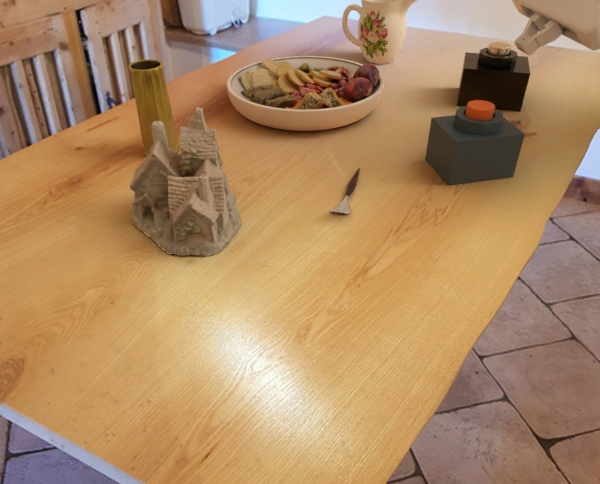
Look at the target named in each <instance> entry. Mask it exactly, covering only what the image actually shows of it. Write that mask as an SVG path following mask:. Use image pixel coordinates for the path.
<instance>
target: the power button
mask: <svg viewBox="0 0 600 484" xmlns="http://www.w3.org/2000/svg"><path fill="white" fill-rule="evenodd" d="M488 47H489V48H488ZM488 47H487V48H488V53H487V54H489V55H493V56H501V57H503V56H509V54H510V49H511V50H512V45H511V44H510V43H507V42H504V41H492V42H490V43H489V44H488Z"/></svg>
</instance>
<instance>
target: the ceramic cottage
mask: <svg viewBox="0 0 600 484" xmlns="http://www.w3.org/2000/svg"><path fill="white" fill-rule="evenodd" d="M217 132H218V131H217V128H216V127H212V128H208V126H207V123H206V121H205V116H204V108H202V107H199V106H197V107H196V108H195V114H194V115H192V116H191V117H190V119H189V124H188V126H180V127H179V148H180V153H175V152H174V151H173V150H172V149H171V148H168V141H167V136H166V131H165V128H164V124H163V123H162V122H161V121H154V122H153V123H152V138H153V143H154V144H153V145H152V147H151V148H150V151H149V154H148V155H145V157H144V159H143V161H142V162H141V163H140V164H139V166H138V167H137V168H136V169H135V170H134V174H133V178H132V179H131V182H130V184H129V188H130V190H131V191H133V192H134V198H133V200H132V201H133V202H131V210H130V211H131V218H132V220H133V222H132V224H133V223H134V224H135V225H136V226H137V227H139V228H138V229H139V230H140V229H141V230H142V231H144V232H145V233H146V234H147V235H149V237H151V238H152V239H153V240H154V241H155V242H156V243H158V245H160V247H161V248H163V249H164V250H165V251H167V252H168V253H167V252H166V253H167V254H169V253H171V254H175V255H174V256H176V255H177V256H180V255H181V256H180V257H183V256H184V257H186V256H187V257H189V256H190V255H191V256H198V257H199V256H203V257H208V256H209V257H211V255H216V254H219V253H220V252H221V251H223V250H224V248H225V247H227V244H229V243H230V241H231V240H232V239H233V237H234V236H235V235H237V233H238V232H239V229H240V227H241V225H242V222H241V221H242V220H241V213H240V212H241V211H240V210H239V209H238V207H237V197H236V195H235V194H234V192H233V191H232V189H231V187H230V185H229V178H228V176H227V174H226V172H225V171H224V170H223V168H222V167H223V165H224V162H223V160H222V158H221V152H220V147H219V143H218V136H217ZM132 220H131V221H132ZM134 224H133V225H134ZM135 225H134V226H135ZM136 226H135V227H136ZM137 227H136V228H137ZM141 230H140V231H141ZM142 231H141V232H142ZM147 235H146V236H147ZM151 238H150V239H151ZM153 240H152V241H153ZM154 241H153V242H154ZM155 242H154V243H155ZM156 243H155V244H156ZM158 245H157V246H158ZM160 247H159V248H160ZM161 248H160V249H161ZM171 254H170V255H171Z"/></svg>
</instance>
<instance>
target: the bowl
mask: <svg viewBox="0 0 600 484" xmlns="http://www.w3.org/2000/svg"><path fill="white" fill-rule="evenodd" d="M384 85H385V83H384V79H383V77H382V75H381V74H380V70H379V69H378V67H377V66H375V64H372V63H366V64H362V63H360V62H356V61H353V60H349V59H344V58H338V57H333V56H320V55H298V56H297V55H295V56H293V55H292V56H282V57H275V58H267V59H264V60H260V61H256V62H253V63H250V64H248V65H245V66H243V67H241V68H239V69H237V70H236V71H234V72H233V73H231V75H230V76H228V79H227V81H226V91H227V96H228V98H229V101H230V103H231V105H232V106H233V107H234V109H235V110H236V111H237V112H238V113H239V114H240V115H242V116H243V117H245V118H246V119H248V120H250V121H251V122H253V123H256V124H259V125H260V126H261V125H262V126H264V127H268V128H274V129H278V130H285V131H292V132H293V131H296V132H297V131H298V132H313V131H314V132H315V131H325V130H331V129H336V128H342V127H345V126H348V125H351V124H353V123H356V122H358V121H360V120H362V119H364V118H365V117H366V116H368V115H370V113H372V112H373V111H374V110H375V109H376V108H377V106H378V104H380V101H381V99H382V96H383V92H384Z"/></svg>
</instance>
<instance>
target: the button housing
mask: <svg viewBox="0 0 600 484" xmlns="http://www.w3.org/2000/svg"><path fill="white" fill-rule="evenodd" d="M466 109H467V106H460V107H458V108H457V109H456V110H455V114H453V115H445V116H444V115H443V116H433V117H431V119H430V125H429V132H428V138H427V144H426V151H425V156H424V157H425V158H424V160H425V162H426V163H427V164H428V165H429V166H430V167H431V168H432V169H433V171H434V172H435V173H436V174H437V175H438V176H439V177H440V179H441V180H442V181H443V182H444V183H445V184H446V185H447V186H448V187H449V186H458V185H465V184H473V183H481V182H489V181H496V180H504V179H513V178H514V176H515V171H516V169H517V166H518V165H517V164H518V162H519V157H520V154H521V150H522V146H523V143H524V139H525V136H526V133H524V132H523V131H522V130H521V129H519V128H518V127H517V126H516V125H514V124H513V123H511V122H510V120H508V119H507V118H505V117H504V113H502V112H501V110H497V109H494V114H493V118H492V119H490V120H474V119H471V118H469V117H466V116H465V114H466Z"/></svg>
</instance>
